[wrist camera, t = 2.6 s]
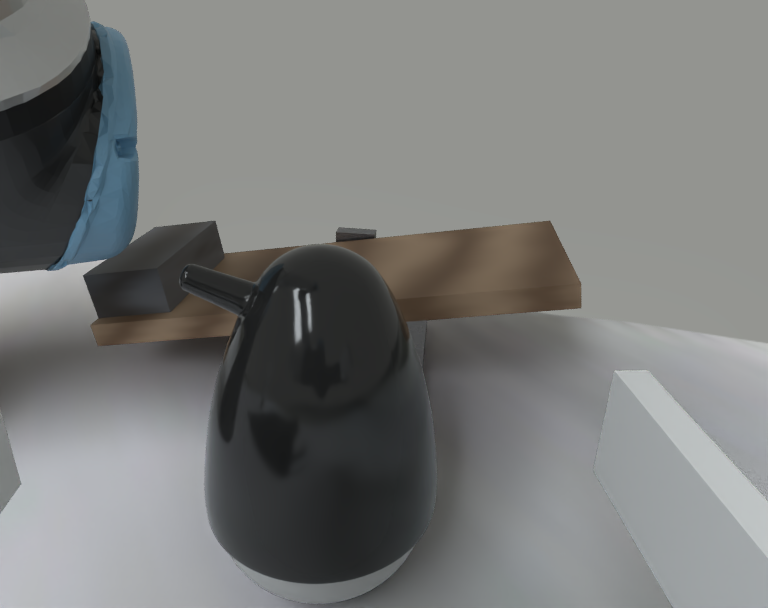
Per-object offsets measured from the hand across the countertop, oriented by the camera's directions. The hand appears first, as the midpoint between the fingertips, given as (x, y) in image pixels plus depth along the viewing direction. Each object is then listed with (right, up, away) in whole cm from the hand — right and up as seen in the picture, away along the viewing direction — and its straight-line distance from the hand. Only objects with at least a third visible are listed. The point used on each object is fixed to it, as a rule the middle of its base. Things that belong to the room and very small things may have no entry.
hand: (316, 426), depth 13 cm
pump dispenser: (-1, -9, +16) cm, 18 cm away
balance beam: (-1, +4, +29) cm, 29 cm away
